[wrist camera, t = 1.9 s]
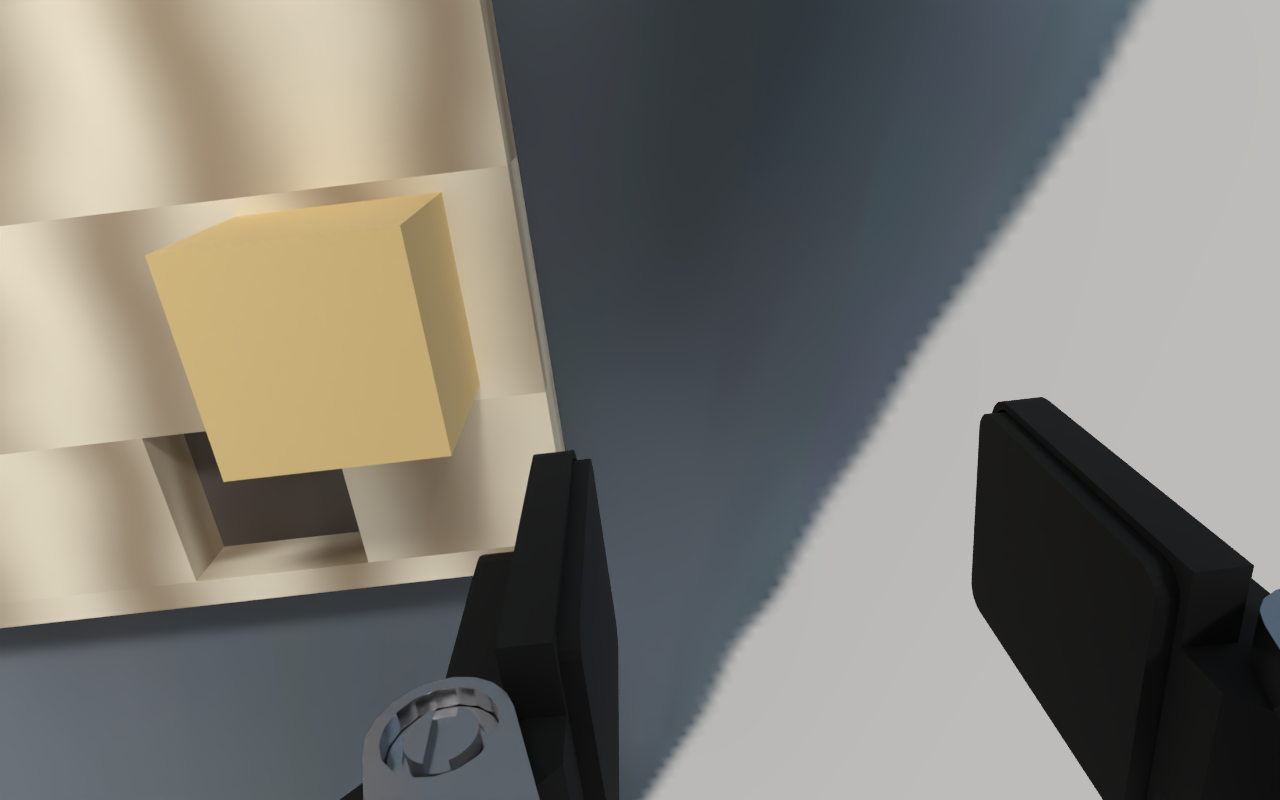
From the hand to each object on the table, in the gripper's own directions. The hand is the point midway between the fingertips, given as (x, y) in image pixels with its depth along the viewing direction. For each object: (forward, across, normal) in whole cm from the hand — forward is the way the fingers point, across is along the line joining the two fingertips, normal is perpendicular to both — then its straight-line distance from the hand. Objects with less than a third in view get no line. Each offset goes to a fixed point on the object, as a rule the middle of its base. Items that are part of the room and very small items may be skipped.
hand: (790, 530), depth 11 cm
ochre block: (+15, +10, 0) cm, 18 cm away
